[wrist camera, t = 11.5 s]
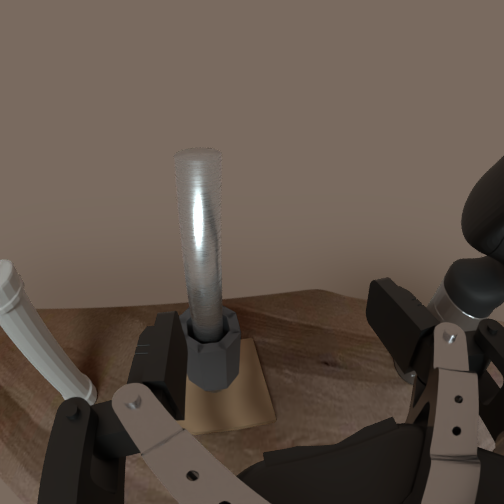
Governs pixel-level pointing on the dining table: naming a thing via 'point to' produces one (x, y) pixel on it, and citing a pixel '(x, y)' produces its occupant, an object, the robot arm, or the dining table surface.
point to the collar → (213, 354)
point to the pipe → (38, 338)
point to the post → (213, 301)
